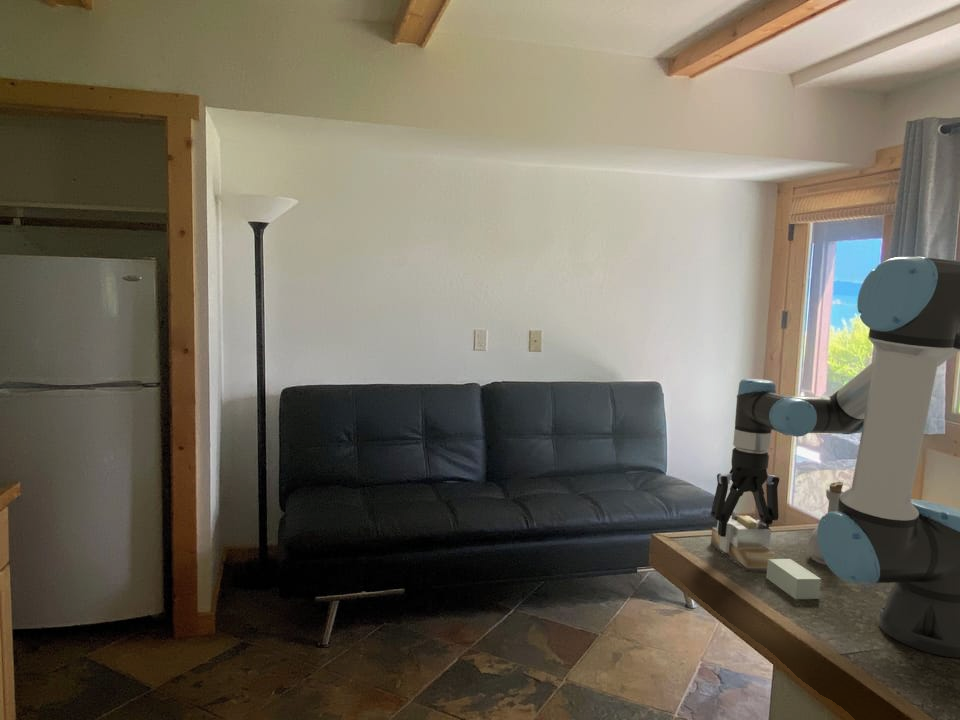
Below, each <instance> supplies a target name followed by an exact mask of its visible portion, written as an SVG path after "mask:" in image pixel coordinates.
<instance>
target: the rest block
mask: <svg viewBox="0 0 960 720" xmlns="http://www.w3.org/2000/svg"><path fill="white" fill-rule="evenodd" d="M765 578H766V579H767V580H769V581H770V582H771V583H773V584H774V585H775V586H777V587H778V588H779V589H781V590H783V592H785V593H786V594H787V595H789V596H790V597H792V598H793V599H794V600H817V599H818V600H819V599H820V594H821V593H820V592H821V582H822V579H821V578H820V577H818V576H817V575H816V574H815V573H812V572H811V571H809V570H808V569H807V568H805V567H804V566H802V565H800V564H799V563H797V562H796V561H794V560H793V559H792V558H775V559H768V565H767V572H766V576H765Z"/></svg>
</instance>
